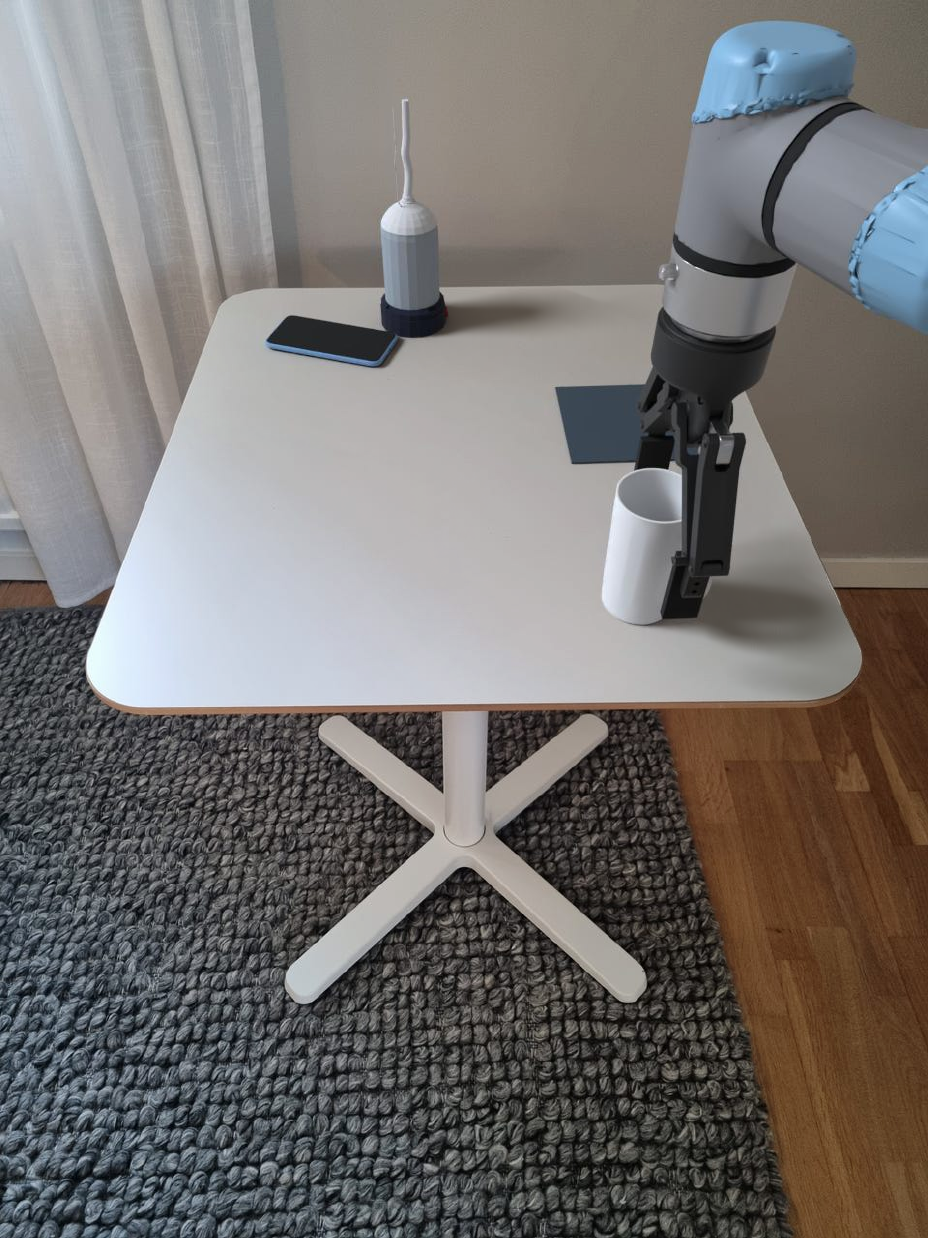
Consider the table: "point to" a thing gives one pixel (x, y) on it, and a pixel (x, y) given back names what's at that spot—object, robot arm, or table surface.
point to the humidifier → (410, 259)
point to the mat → (603, 423)
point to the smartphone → (332, 340)
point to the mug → (643, 544)
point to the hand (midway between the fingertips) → (660, 554)
